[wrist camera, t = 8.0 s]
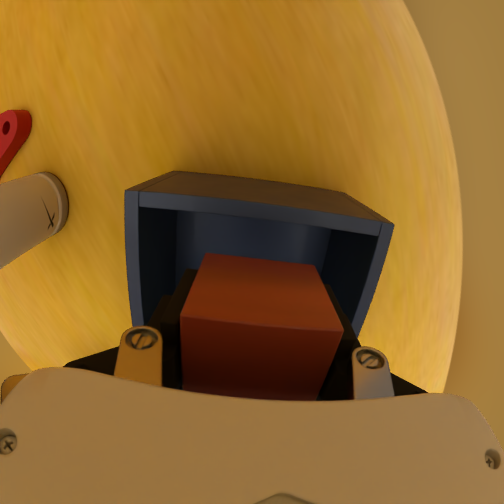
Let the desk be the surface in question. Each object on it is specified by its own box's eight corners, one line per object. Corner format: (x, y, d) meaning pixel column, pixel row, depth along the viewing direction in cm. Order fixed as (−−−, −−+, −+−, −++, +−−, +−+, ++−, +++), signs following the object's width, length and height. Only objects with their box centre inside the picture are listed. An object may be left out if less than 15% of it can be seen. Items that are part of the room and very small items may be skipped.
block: (205, 251, 11) (179, 314, 7) (315, 264, 11) (345, 330, 7) (201, 338, 13) (183, 412, 9) (293, 348, 13) (306, 422, 9)
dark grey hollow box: (172, 170, 21) (124, 190, 12) (344, 192, 21) (395, 224, 13) (170, 325, 26) (144, 392, 18) (308, 340, 27) (324, 410, 18)
